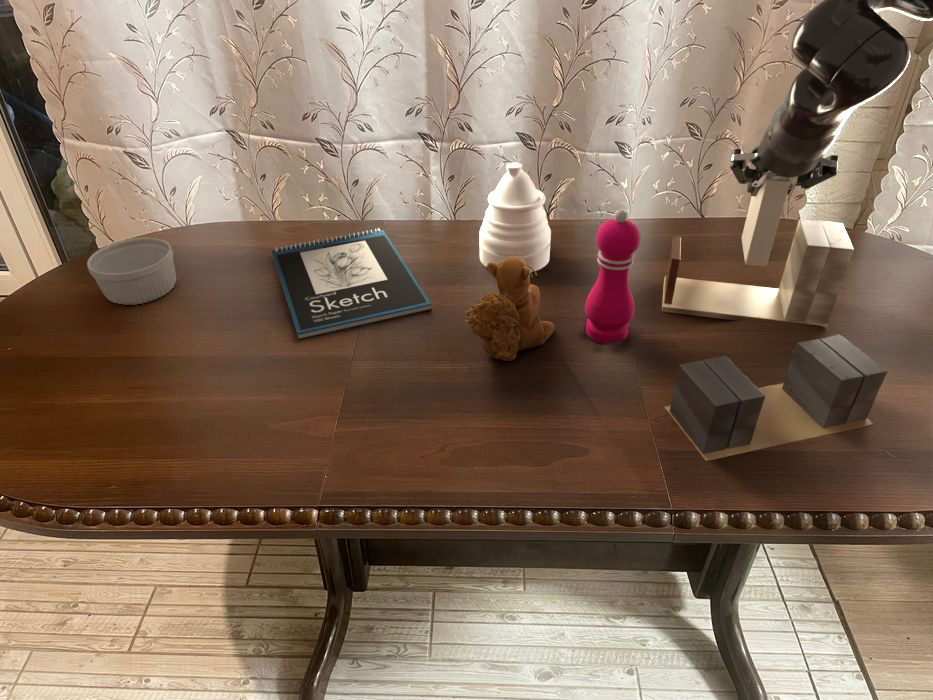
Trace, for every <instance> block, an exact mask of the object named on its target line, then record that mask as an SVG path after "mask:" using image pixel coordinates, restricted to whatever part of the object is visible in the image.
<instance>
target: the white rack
mask: <svg viewBox="0 0 933 700" xmlns="http://www.w3.org/2000/svg"><path fill="white" fill-rule="evenodd" d="M797 223H798V224H797V226H796V229H795V232H794V236H793V239H792V243H791V246H790V250H789V253H788V257H787V260H786V263H785V266H784V269H783V272H782V273H783V274H782V277H781V280H780V283H779V286H778V288H777V287H774V288H773V287H766V286H756V285H748V284H741V283H740V284H739V283H731V282H730V283H729V282H721V281H720V282H719V281H713V280H712V281H711V280H702V279H693V278H685V277H678V273H679V267H680V263H681V251H682V250H681V248H682V247H681V245H682V242H681V241H682V236H677V235H676V236H675V235H673V236H672V240H671V247H670V252H669V257H668V263H667V269H666V274H665V276H664V278H663V283H662V285H663V287H662V299H661V300H662V301H661V312H662V313H670V314H678V315H687V316H695V317H704V318H711V319H719V320H728V321H735V322H739V321H744V320H751V319H763V320H770V321H778V322H779V321H780V322H787V323H788V322H789V323H796V324H803V325H811V326H812V325H814V326H821V327H823V328H824V329H825V330H827V329H828V328H829V327H828V323H829V320H830V318H831V315H832V312H833V310H834V306H835V304H836V301H837V298H838V295H839V292H840V290H841V287H842V284H843V281H844V279H845V276H846V274H847V270H848V268H849V264H850V262H851V259H852V256H853V254H854V251H855V249H854V246H853V244H852V242H851V239H850V237H849V235H848V232H847V231H846V229H845V226H844V223H843V222H839V221H827V220H815V219H803V218H799V219H798V222H797Z"/></svg>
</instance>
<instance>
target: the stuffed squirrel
mask: <svg viewBox="0 0 933 700" xmlns="http://www.w3.org/2000/svg"><path fill="white" fill-rule="evenodd" d="M531 269H532V268H531V267H530V266H528V265H527V264H526V262H525V261H524V260H523V259H522V258H521V257H518V256H512V257H509V258H506V259H504V260H502V261H500V262H499V263H498V264H494V263H492V262H490V263H488V264H487V266H486V270H487V271H488V272H489V273H490V274H491V275H492V276H493V277H494V278H495V280H496V288H497V293H494V292H492V293H486V294H484V295H483V296H484V297H481V300H478V301H477V303H475V304H472V305H471V307H470V308H469V309H468V310H466V311H464V315H465V316H466V317H465V319H467V320H464V323H466V324H468V325H469V328H470V330H471V331H472V333H473V334H475V335H477V336H479V338H480V340H482V348H483V351H484V353H485V354H486V355H487V356H489V357H492V358H494V359H496V360H501V361H502V362H506V361H507V362H512V361H514V360H515V359H516V358H517V356H518V354H517V353H518V352H520V351H522V350H527V349H532V348H535V347H538V346H541V345H543V344H545V342H546V341H547V340H548V339H550V337H551V336H552V335H553V333H554V330H555V324H554V323H553V322H551V321H548V320H545V321H542V320H541V318H540V315H538V312H539V304H540V297H541V293H540V290H539V287H538V286H537V285H535V284H531V278H533V277H534V275H535V276H538V274H537V271H534V270H533V269H532V270H533V272H531ZM533 273H534V275H533Z"/></svg>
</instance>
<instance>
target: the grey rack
mask: <svg viewBox="0 0 933 700" xmlns="http://www.w3.org/2000/svg"><path fill="white" fill-rule="evenodd" d="M795 345H796V346H795V349H794V351H793V355H792V357H791V361H790V364H789V367H788V369H787V372H786V375H785V378H784V381H783V383H777V384H773V385H767V386H762V387H757V386H756V385H755V384H754V383H753V382H752V381H751V380H750V379H749V377H747V376H746V375H745V374H744V373H743V372H742V371H741V370H740V368H738V366H737V365H736V364H734V362H733V361H731V360H730V358H728V356H726V355H724V356H718V357H712V358H707V359H704V360H696V361H692V362H686V363H681V364H679V366H678V370H677V374H676V379H675V384H674V389H673V394H672V398H671V404H670V405H667V406H664V409H665V411H667V413H668V414H669V416H670V417H671V418H672V419H673V420H674V422H675V423H676V424H677V425H678V427H679V428H680V429H681V431H682V432H683V433H684V435H685V436H686V437H687V438H688V440H689V442H691V444H692V445H693V447H694V448H695V449H696V450H697V451H698V453H699V454H700V456H702V458H703V459H704V460H705V461H706V462H708V461H713V460H717V459H723V458H727V457H730V456H735V455H740V454H745V453H748V452H754V451H757V450H759V451H760V450H764V449H768V448H772V447H776V446H780V445H785V444H790V443H791V444H792V443H795V442H799V441H800V442H801V441H804V440H808V439H813V438H817V437H823V436H826V435H832V434H835V433H840V432H845V431H850V430H853V429H859V428H862V427H863V428H864V427H869V426H872V425H874V423H873V422H872V421H871V420H870V419H869V418H868V416H869V414H870V412H871V409H872V407H873V406H874V404H875V401H876V398H877V396H878V394H879V392H880V389H881V387H882V385H883V383H884V381H885V378H886V376H887V374H888V371H887V369H885V368H884V367H883V366H881V365H880V364H879V363H877V362H876V361H875V360H873V359H872V358H871V357H870V356H868V355H867V354H866V353H865V352H863V351H862V350H860V348H858V347H856V346H855V345H854V344H853V343H852V342H851V341H849V340H848V339H846V338H845V337H844V336H843V335H841V334H837V335H831V336H826V337H821V338H820V339H818V338H815V339H810V340H805V341H799V342H796V344H795Z"/></svg>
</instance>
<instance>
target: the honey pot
mask: <svg viewBox="0 0 933 700" xmlns="http://www.w3.org/2000/svg"><path fill="white" fill-rule="evenodd" d="M505 168H506V173H505V174H504V175H503V176H502V178H501V179H500V181H499V183H498V184H497V186H496V188H495V189H494V190H493V191H491V192H490V193H489V194H488V197H487V202H488V204H489V205H488V207H487V209H486V210H485V213H484V218H483V221H482V225H481V226H480V229H479V241H478V243H479V248H478V249H479V260H480V263H481V264H482V265H483V266H484V267H486V266H487V264H488V263H490V262H492V263H494V264H498V263H499V262H500V261H502V260H504V259H506V258H509V257H512V256H518V257H521V258H522V259H523V260H524V261H525V262H526V264H527V265H528V266H530V267H531V268H532V269H533V270H534V271H535V272H538V271H539V270H542V269H543V268H544V267H546V266H547V265H548V264H549V262H550V257H551V239H552V237H551V236H552V229H551V228H550V225H549V221H548V219H547V213H546V211H545V209H544V207H543V206H544V204H545V203H546V199H547V198H546V196H545V193H544V192H542V191H541V190H539V189H537V188H536V186H535V184H534V182H533V180H532V178H531V177H530V176H529V175H528V173H527V172H526V171H525V170H523V169H522V168H523V164H521V163H520V162H507V163H506V164H505ZM486 268H487V267H486ZM532 269H531V272H532V273H534V272H533V270H532Z"/></svg>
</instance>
